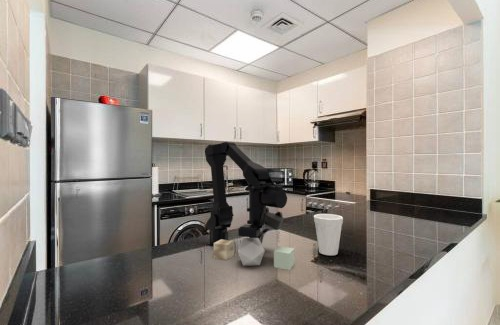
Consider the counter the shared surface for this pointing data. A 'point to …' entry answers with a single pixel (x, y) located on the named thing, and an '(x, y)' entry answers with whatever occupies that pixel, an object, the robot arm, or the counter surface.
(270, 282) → the counter surface
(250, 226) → the robot arm
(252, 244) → the die
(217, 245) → the birch block
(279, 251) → the sage block
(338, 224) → the cup
